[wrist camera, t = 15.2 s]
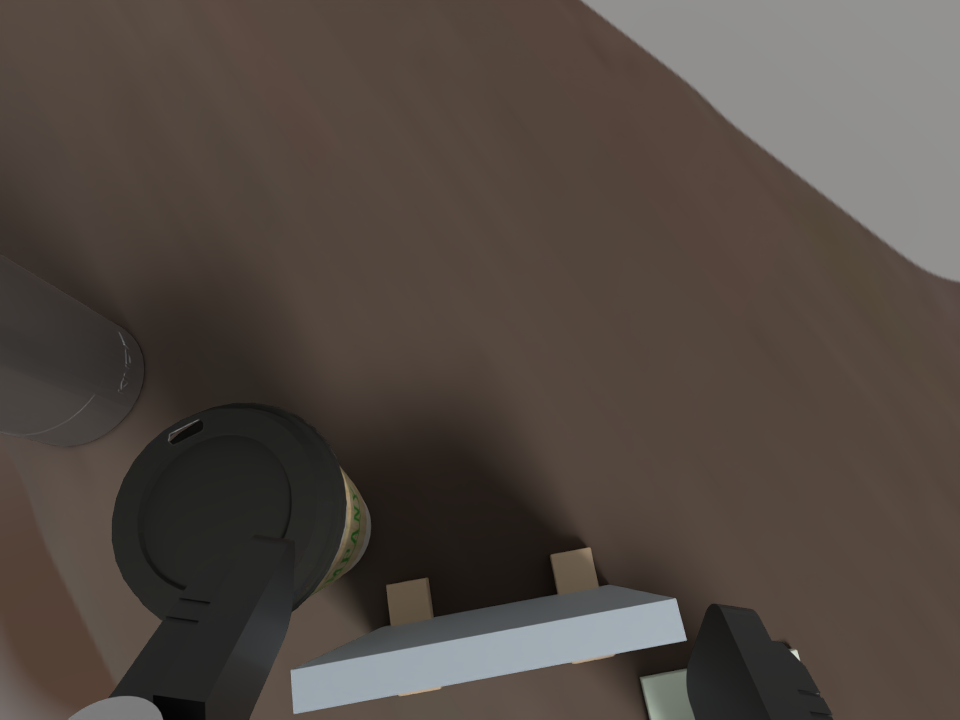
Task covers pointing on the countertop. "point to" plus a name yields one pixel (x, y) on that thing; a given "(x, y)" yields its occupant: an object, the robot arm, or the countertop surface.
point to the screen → (487, 638)
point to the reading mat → (670, 695)
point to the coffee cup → (235, 502)
